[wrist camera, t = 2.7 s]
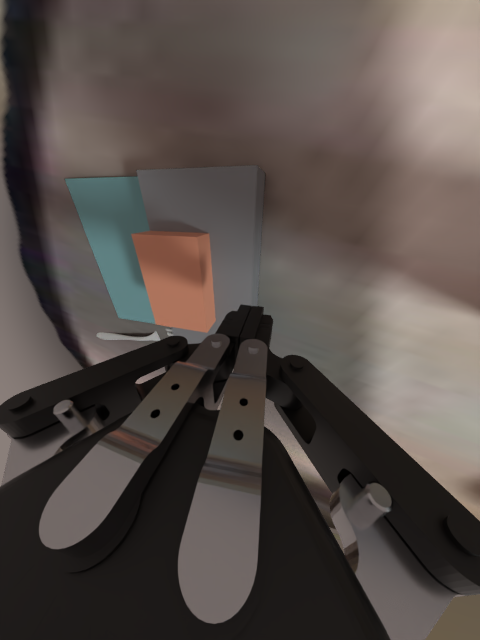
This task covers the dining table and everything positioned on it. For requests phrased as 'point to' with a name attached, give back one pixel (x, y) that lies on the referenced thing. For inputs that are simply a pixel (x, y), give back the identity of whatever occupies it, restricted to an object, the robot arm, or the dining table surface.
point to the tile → (178, 278)
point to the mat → (115, 238)
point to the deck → (213, 226)
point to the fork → (124, 337)
